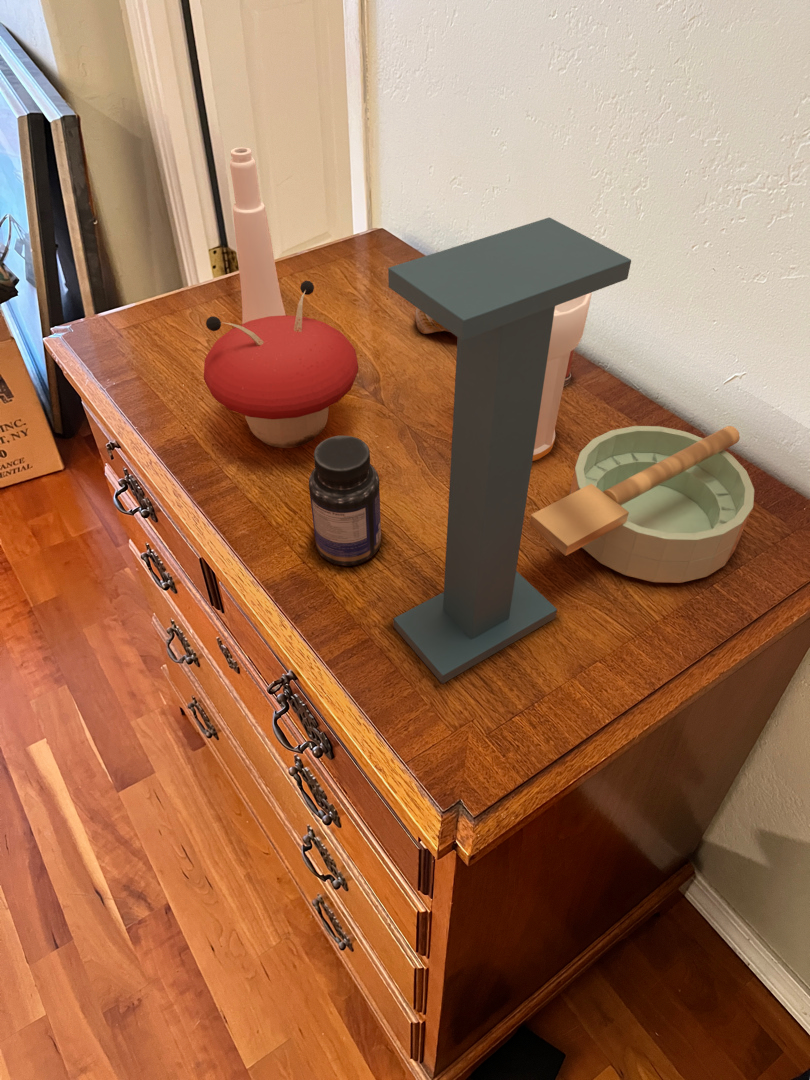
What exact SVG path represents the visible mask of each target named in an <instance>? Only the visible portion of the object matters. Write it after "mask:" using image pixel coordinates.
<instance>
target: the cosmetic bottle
mask: <svg viewBox="0 0 810 1080" xmlns="http://www.w3.org/2000/svg"><path fill="white" fill-rule="evenodd" d="M230 156H231V159H230V161H229V168H230V174H231V180H232V181H231V182H232V187H233V193H234V200H235V201H234V202H235V203H234V204H233V205H232V217H233V228H234V235H235V236H234V237H235V246H236V254H237V262H238V272H239V282H240V283H239V284H240V293H241V311H242V313H241V314H242V317H241V318H242V321H241V323H242V324H244V323H246V322H248V321H251V320H255V319H260V318H264V317H268V316H282V315H286V311H285V310H286V309H285V306H284V302H283V297H282V294H281V288H280V283H279V279H278V273H277V267H276V261H275V255H274V249H273V243H272V238H271V237H272V236H271V232H270V226H269V220H268V215H267V210H266V205H265V203H264V202H263V201H261V193H260V186H259V178H258V170H257V163H256V160H255V158H254V157H253V152H252V149H251V148H249V147H235V148H232V149H231V150H230Z"/></svg>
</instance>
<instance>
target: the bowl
mask: <svg viewBox="0 0 810 1080" xmlns="http://www.w3.org/2000/svg"><path fill="white" fill-rule="evenodd" d="M702 439H704V438H703V437H700V436H698V435H695V434H693V433H690V432H688V431H685V430H679V429H676V428H670V427H666V426H665V427H664V426H659V425H632V426H627V427H622V428H615V429H612V430H609V431H607V432H604V433H603V434H601V435H598V436H596V437H594V438H592V439H591V440H590V442H588V443H587V445H585V447H584V448H583V449H581V450H580V452H579V453H578V457H577V460H576V463H575V466H574V471H573V475H572V481H571V486H570V490H569V495H570V494H572V493H574V492H576V491H578V490H580V489H582V488H584V487H586V486H587V485H589V484H593V485H594V486H595V487H597V488H598V489H599V490H601V491H602V492H604V491H605V490H607V489H609V488H611V487H612V486H614V485H616V484H618V483H620V482H622V481H624V480H626V479H628V478H630V477H631V476H633V475H635V474H637V473H639V472H641V471H643V470H645V469H647V468H649V467H651V466H652V465H654V464H656V463H658V462H660V461H662V460H664V459H666V458H668V457H670V456H671V455H673V454H675V453H677V452H679V451H681V450H683V449H685V448H687V447H689V446H690V445H692V444H694V443H696V442H698V441H700V440H702ZM754 502H755V487H754V485H753V483H752V480H751V478H750V476H749V474H748V471H747V469H745V468H744V466H743V465H742V464H741V463H740V462H739V461H738V460H737V459H736V458H735V457H734V456H733V455H732V454H731V453H729V452H728V451H727V450H726V449H725V450H723V451H721V452H719V453H717V454H715V455H713V456H712V457H710V458H708V459H706V460H704V461H702V462H701V463H699V464H697V465H695V466H693V467H691V468H689V469H688V470H686V471H684V472H682V473H680V474H678V475H677V476H675V477H673V478H671V479H669V480H667V481H665V482H664V483H662V484H660V485H658V486H656V487H654V488H653V489H651V490H649V491H647V492H645V493H643V494H641V495H640V496H638V497H636V498H634V499H632V500H630V501H629V502H627V503H625V504H623V505H621V506H622V507H623V508H624V509H626V510H627V511H628V512H629V514H628V518H627V522H626V523H624V524H622V525H620V526H619V527H617V528H615V529H613V530H611V531H610V532H608V533H606V534H604V535H602V536H601V537H599V538H597V539H595V540H593V541H592V542H590V543H588V544H586V545H584V546H583V547H581V549H583V550H584V551H585V552H587V553H588V554H589V555H590V556H591V557H592V558H594V559H595V560H596V561H597V562H598V563H600V564H602V565H603V566H605V567H607V568H609V569H611V570H613V571H615V572H617V573H619V574H622V575H623V576H627V577H631V578H635V579H639V580H643V581H647V582H650V583H669V584H670V583H672V584H673V583H675V584H676V583H677V584H681V583H685V582H686V583H687V582H690V581H694V580H699V579H702V578H706V577H708V576H710V575H712V574H714V573H715V572H717V571H718V570H720V569H721V568H723V567H725V566H726V564H727V563H728V561H729V560H730V558H732V555H733V554H734V552H735V551H736V549H737V546H738V544H739V541H740V539H741V537H742V534H743V532H744V530H745V528H746V525H747V523H748V520H749V518H750V516H751V513H752V511H753V509H754V504H755V503H754Z"/></svg>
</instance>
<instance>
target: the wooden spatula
mask: <svg viewBox="0 0 810 1080" xmlns="http://www.w3.org/2000/svg"><path fill="white" fill-rule="evenodd" d="M739 441H740V432H739V430H738V429H737V428H736V427H735V426H732V425H726V426H725V427H723V428H720V429H719V430H717V431H714V433H711V434H710V435H708V436H706V437H704V438H703V439H702V440H700V441H698V442H696V443H694V444H692V445H690V446H689V447H687V448H685V449H683V450H681V451H679V452H677V453H675V454H673V455H671V456H670V457H668V458H666V459H664V460H662V461H660V462H658V463H656V464H654V465H652V466H651V467H649V468H647V469H645V470H643V471H641V472H639V473H637V474H635V475H633V476H631V477H630V478H628V479H626V480H624V481H622V482H620V483H618V484H616V485H614V486H612V487H611V488H609V489H607V490H605V491H604V492H602V491H601V490H599V489H598V488H597V487H595V486H594V485H593V484H589V485H587V486H586V487H584V488H582V489H580V490H578V491H576V492H574V493H572V494H570V493H569V494H568V495H566V496H565V497H562V498H560V499H559V500H557V501H555V502H552V503H551V504H549V505H547V506H545V507H543V508H541V509H538V510H537V511H535V512H533V513H531V514H530V519H529V526H530V527H531V528H533V529H534V530H535V531H536V532H537V533H539V534H540V535H541V536H542V537H543V538H544V539H545V540H546V541H548V542H549V543H550V544H551V545H552V546H553V547H555V548H556V549H557V550H558V552H560V553H562V554H563V555H564V556H565V557H566V556H568V555H570V554H572V553H573V552H576V551H578V550H579V549H582V547H583V546H584V545H586V544H588V543H590V542H592V541H593V540H595V539H597V538H599V537H601V536H602V535H604V534H606V533H608V532H610V531H611V530H613V529H615V528H617V527H619V526H620V525H622V524H624V523H626V522H627V518H628V514H629V512H628V511H627V510H626V509H624V508H623V507H622V506H621V505H623V504H625V503H627V502H629V501H630V500H632V499H634V498H636V497H638V496H640V495H641V494H643V493H645V492H647V491H649V490H651V489H653V488H654V487H656V486H658V485H660V484H662V483H664V482H665V481H667V480H669V479H671V478H673V477H675V476H677V475H678V474H680V473H682V472H684V471H686V470H688V469H689V468H691V467H693V466H695V465H697V464H699V463H701V462H702V461H704V460H706V459H708V458H710V457H712V456H713V455H715V454H717V453H719V452H721V451H723V450H725V451H726V450H727V449H728V448H730V447H732V446H734V445H735V444H737V443H738V442H739Z"/></svg>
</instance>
